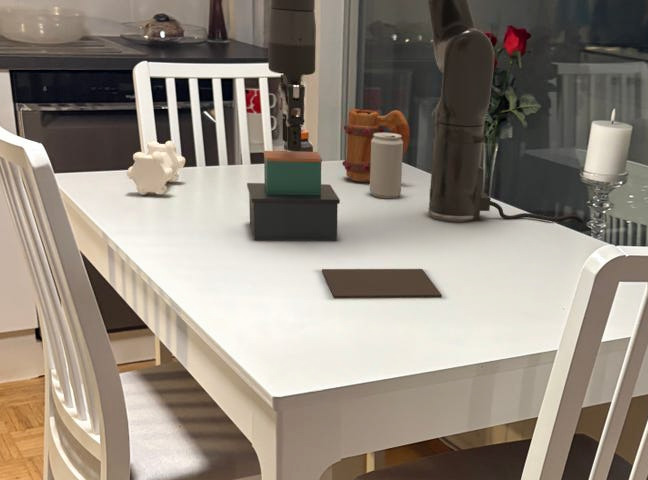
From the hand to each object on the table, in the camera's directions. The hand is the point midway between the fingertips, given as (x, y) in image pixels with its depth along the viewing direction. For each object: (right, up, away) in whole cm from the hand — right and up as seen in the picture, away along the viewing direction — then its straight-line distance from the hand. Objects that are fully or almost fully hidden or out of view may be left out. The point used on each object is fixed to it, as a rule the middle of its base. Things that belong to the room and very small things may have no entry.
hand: (291, 146), depth 163 cm
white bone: (-30, +1, +29) cm, 42 cm away
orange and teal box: (0, -7, +3) cm, 7 cm away
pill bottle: (-4, +4, +38) cm, 38 cm away
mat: (+16, -27, -16) cm, 35 cm away
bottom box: (-1, -13, +7) cm, 14 cm away
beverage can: (+14, +2, +36) cm, 39 cm away
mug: (+11, +9, +48) cm, 50 cm away
